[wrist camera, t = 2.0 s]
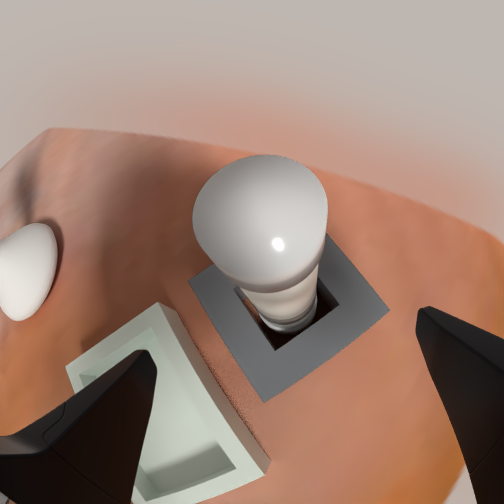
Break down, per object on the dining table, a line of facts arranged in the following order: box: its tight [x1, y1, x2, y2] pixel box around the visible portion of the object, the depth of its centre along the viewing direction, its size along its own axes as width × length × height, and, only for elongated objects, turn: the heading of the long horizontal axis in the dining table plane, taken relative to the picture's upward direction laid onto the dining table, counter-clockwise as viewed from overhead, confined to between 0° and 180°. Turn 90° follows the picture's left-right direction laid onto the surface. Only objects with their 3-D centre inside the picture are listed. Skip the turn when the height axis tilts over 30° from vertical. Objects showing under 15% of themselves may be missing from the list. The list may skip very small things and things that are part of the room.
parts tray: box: [65, 302, 271, 504], centre depth 17 cm, size 13×10×3 cm
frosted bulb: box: [192, 155, 328, 335], centre depth 14 cm, size 4×4×13 cm
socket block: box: [188, 233, 390, 402], centre depth 18 cm, size 9×9×3 cm
